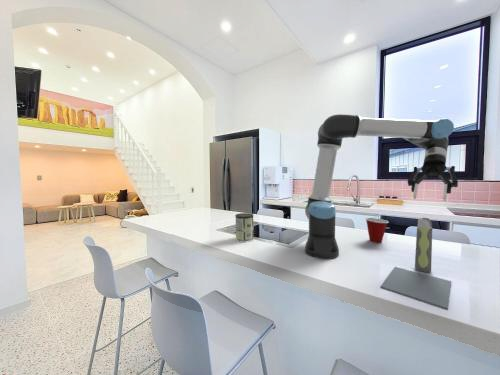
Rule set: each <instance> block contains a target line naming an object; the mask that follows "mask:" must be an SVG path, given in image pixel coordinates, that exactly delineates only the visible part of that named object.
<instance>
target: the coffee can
mask: <svg viewBox="0 0 500 375" xmlns="http://www.w3.org/2000/svg"><path fill="white" fill-rule="evenodd" d="M234 217H235V239H237V240H238V242H240V241H248V242H252V241H253V240H254V214H253V213H249V212H242V213H236V214H235V216H234ZM237 240H236V241H237Z"/></svg>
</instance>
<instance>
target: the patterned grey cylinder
mask: <svg viewBox="0 0 500 375" xmlns="http://www.w3.org/2000/svg"><path fill="white" fill-rule="evenodd" d="M415 238H416V240H415V256H414V269H416V270H417V271H419V272H422V273H431V271H432V253H433V252H432V251H433V223H432V220H431V219H430V218H427V217H420V218H418V219H417V227H416V237H415Z"/></svg>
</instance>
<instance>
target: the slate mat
mask: <svg viewBox="0 0 500 375" xmlns="http://www.w3.org/2000/svg"><path fill="white" fill-rule="evenodd" d="M451 286H452V281H451V280H448V279H445V278H439V277H437V276H436V277H435V276H433V275H429V274H425V273H421V272H417V271H413V270H409V269H406V268H401V267H398V266H394V267H393V269H392V270H391V271H390V272H389V274H388V275H387V276H386V278H384V280H383V282H382V283H381V285H380V288H382V289H384V290H388V291H390V292H393V293H397V294H399V295H402V296H405V297H408V298H412V299H414V300H417V301H419V302H420V301H421V302H424V303H427V304H429V305H433V306H435V307H438V306H439V308H441V307H442V308H441V309H444V308H445V310H448V309H449V307H448V306H449V301H450V300H449V299H450V294H451Z"/></svg>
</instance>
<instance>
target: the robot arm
mask: <svg viewBox="0 0 500 375" xmlns="http://www.w3.org/2000/svg"><path fill="white" fill-rule="evenodd" d="M454 129H455V124H454V122H453V121H452V120H451V119H448V118H440V119H439V118H438V119H436V120H421V119H402V118H401V119H398V118H397V119H396V118H377V117H376V118H371V117H361V116H360V115H358V114H332V115H331V116H328V117H327V118H326V119H325V120H324V121H323V123H322V124H321V125H320V126H319V128H318V131H317V142H316V146H317V147H318V149H319V150H318V157H317V160H316V161H317V163H316V169H315V174H314V182H313V186H312V193H311V195H309V196H308V198H307V204H306V206H305V210H304V211H305V213H304V214H305V216H306V218H307V220H308V235H307V236H308V237H307V240H306V243H305V245H304V253H305V254H307V255H308V256H310V257H314V258H318V259H325V260H326V259H327V260H328V259H336V258H338V257H339V256H340V249H339V245H338V242H337V238H336V214H337V210H336V205H335V204H333V203H332V199H331V198H330V193H331V188H332V182H333V176H334V171H335V165H336V158H337V154H338V150H339V149H341V147H342V142H343V139H348V138H357V137H358V136H361V137H381V138H382V137H383V138H400V139H401V138H402V139H404V140H406V141H407V142H410V143H411V144H413V145H416V146H417V147H420V148H421V149H423V150H425V153H424V159H423V164H422V166H421V167H417V166H414V167H413V171H412V173H411V175H410V176H409V178H408V180H407V186H409V187H411V189H410V190H411V193H412V196H413V200H416V199H417V196H418V190H419V185H420V184H421V182H423V180H425V179H427V178H428V177H432V176H433V177H438V178H439V179H440V180H441V181H442V182H443V184H444V187H443V188H444V189H443V196H442V199H443V200H442V201H444V202H446V201H447V194H448V195H449V194H451V193H452V188H458V187H459V181H458V178H457V174H456V166H455V165H452V166H446V163H447V155H448V147H449V136H450V135H452V133H453V131H454ZM446 171H447V172H448V173H449V175H450V179H449V178H448V177H447V176H446V174H445V172H446ZM420 172H421V173H420ZM419 173H420V174H419ZM418 174H419V175H418ZM450 180H451V181H450Z"/></svg>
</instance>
